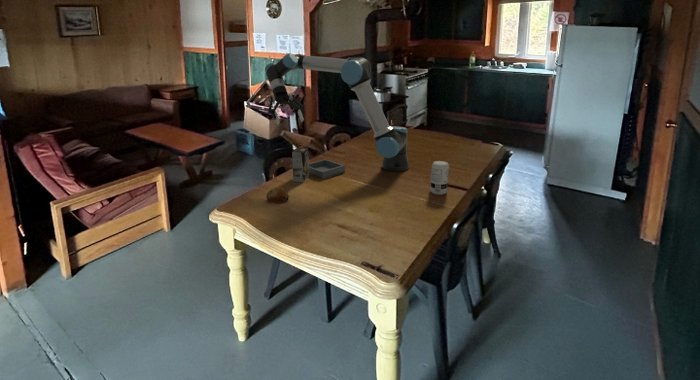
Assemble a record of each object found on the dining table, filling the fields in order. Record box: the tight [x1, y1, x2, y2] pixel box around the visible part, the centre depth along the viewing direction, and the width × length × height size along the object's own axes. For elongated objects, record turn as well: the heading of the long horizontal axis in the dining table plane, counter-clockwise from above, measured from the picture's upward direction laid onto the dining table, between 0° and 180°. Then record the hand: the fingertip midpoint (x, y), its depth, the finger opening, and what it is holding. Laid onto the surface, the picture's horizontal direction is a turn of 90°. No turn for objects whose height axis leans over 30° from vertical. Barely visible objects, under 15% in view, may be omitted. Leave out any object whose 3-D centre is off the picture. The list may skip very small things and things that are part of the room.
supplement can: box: [429, 160, 450, 196], centre depth 242 cm, size 8×8×15 cm
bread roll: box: [266, 186, 290, 204], centre depth 233 cm, size 10×10×8 cm
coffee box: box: [291, 147, 310, 183], centre depth 258 cm, size 9×6×16 cm
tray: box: [309, 158, 346, 180], centre depth 271 cm, size 16×16×4 cm
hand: (290, 122), depth 263 cm, fingers open, 13 cm apart
